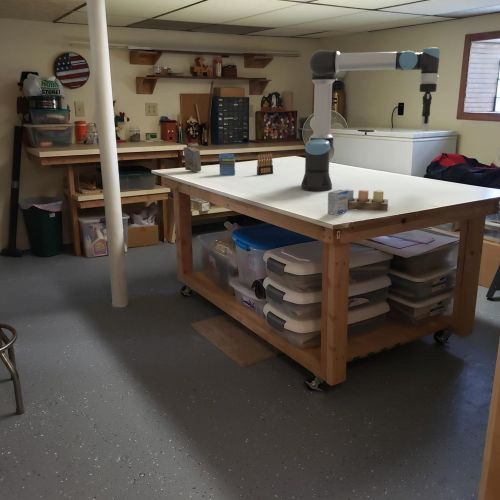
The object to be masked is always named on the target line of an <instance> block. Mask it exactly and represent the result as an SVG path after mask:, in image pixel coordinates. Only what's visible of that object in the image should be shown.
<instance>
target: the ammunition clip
mask: <svg viewBox="0 0 500 500" xmlns="http://www.w3.org/2000/svg"><path fill="white" fill-rule="evenodd" d="M256 164H257V166H256V176H258V177H259V176H267V175H273V174H274V165H273V154H272V153H268V154H267V153H263V154H262V153H261V154H258V155H257V162H256Z"/></svg>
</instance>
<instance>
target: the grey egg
mask: <svg viewBox="0 0 500 500" xmlns="http://www.w3.org/2000/svg"><path fill="white" fill-rule="evenodd" d="M346 190H347V191H348V201H353V198H354V192H355V191H354V189H346Z"/></svg>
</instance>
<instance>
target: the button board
mask: <svg viewBox="0 0 500 500" xmlns="http://www.w3.org/2000/svg"><path fill="white" fill-rule="evenodd" d="M388 206H389V198H388V199H387V198H386V199H384V198H383V203H380V202H373V198H368V202H358V197H353V201H348V206H347V210H352V209H357V210H356V211H373V210H374V211H377V212H388V209H389V207H388Z"/></svg>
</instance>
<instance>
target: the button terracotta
mask: <svg viewBox="0 0 500 500" xmlns="http://www.w3.org/2000/svg"><path fill="white" fill-rule="evenodd" d="M357 198H358V202H368V199H369V190H367V189H359V190H358V195H357Z"/></svg>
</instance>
